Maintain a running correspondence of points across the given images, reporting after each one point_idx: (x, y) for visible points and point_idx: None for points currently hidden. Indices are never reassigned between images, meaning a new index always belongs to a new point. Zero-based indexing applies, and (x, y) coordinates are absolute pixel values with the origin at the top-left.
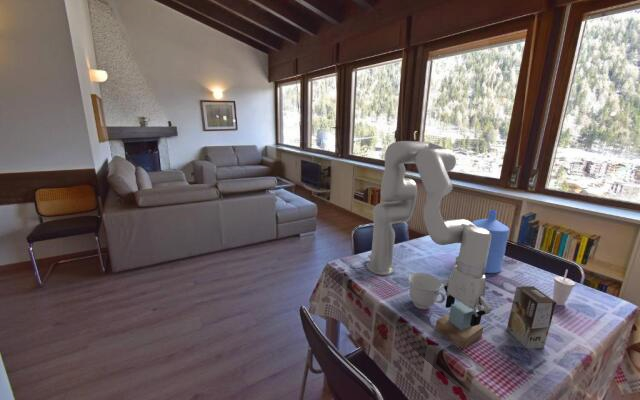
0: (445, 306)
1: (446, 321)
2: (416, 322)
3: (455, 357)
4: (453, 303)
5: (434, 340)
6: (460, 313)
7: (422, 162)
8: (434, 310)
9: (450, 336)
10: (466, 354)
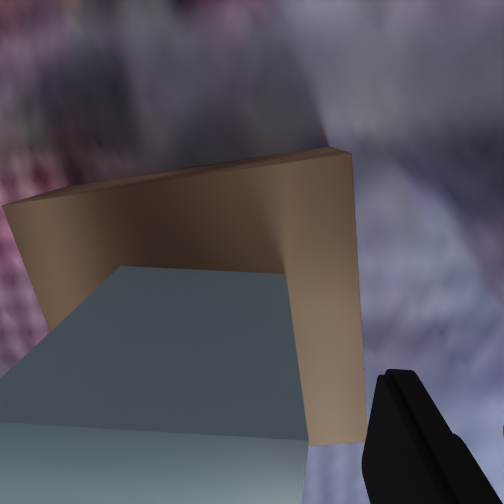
0: (413, 372)
1: (282, 240)
2: (494, 41)
3: (3, 29)
4: (375, 500)
5: (225, 13)
6: (71, 385)
7: None
8: (496, 334)
9: (178, 171)
10: (15, 153)
